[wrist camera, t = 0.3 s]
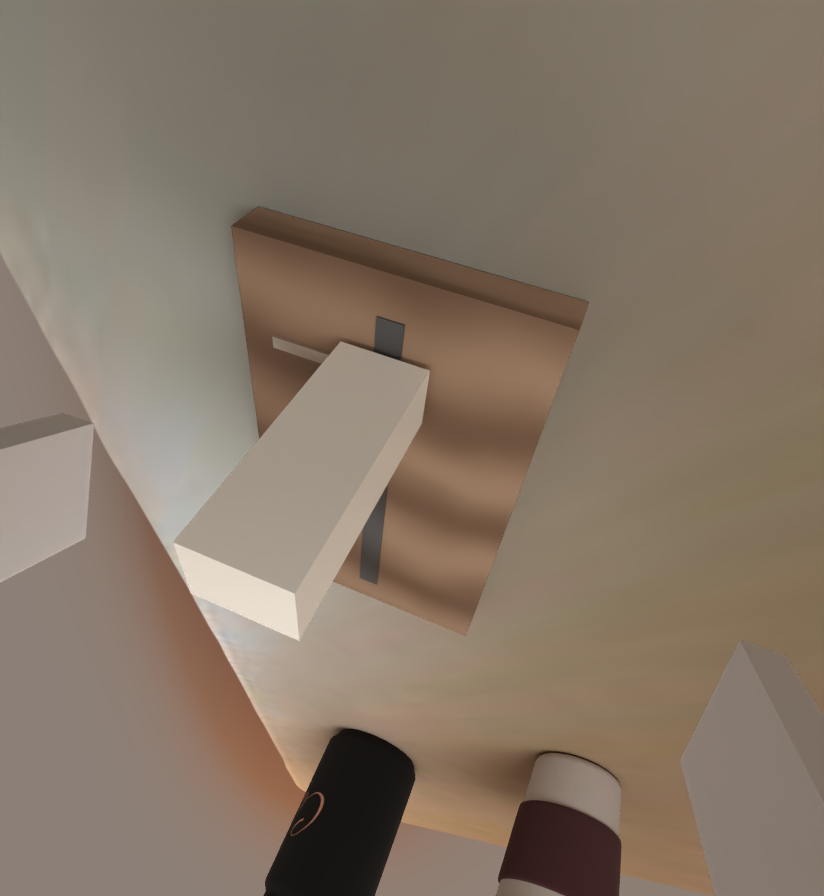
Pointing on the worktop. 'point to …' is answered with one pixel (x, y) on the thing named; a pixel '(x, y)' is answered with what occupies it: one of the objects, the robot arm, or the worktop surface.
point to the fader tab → (304, 491)
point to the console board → (447, 400)
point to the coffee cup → (565, 832)
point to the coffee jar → (345, 820)
